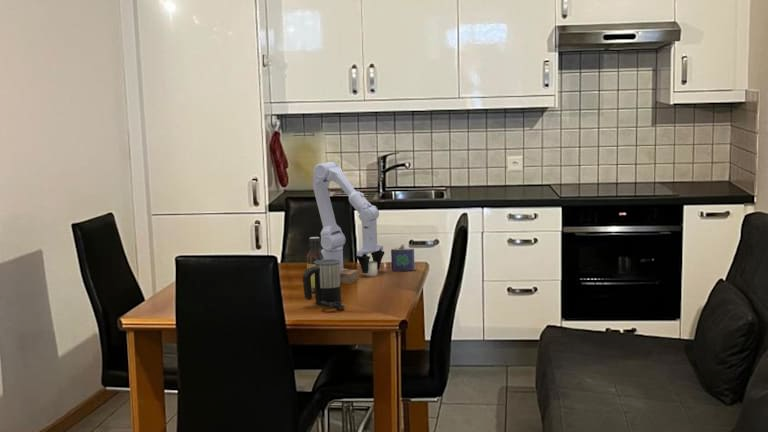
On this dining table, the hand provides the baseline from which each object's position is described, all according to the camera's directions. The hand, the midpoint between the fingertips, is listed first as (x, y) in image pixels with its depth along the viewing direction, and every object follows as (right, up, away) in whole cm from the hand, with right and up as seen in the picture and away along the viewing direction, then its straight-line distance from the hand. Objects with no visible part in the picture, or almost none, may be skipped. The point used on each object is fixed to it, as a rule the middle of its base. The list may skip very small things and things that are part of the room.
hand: (371, 271), depth 360 cm
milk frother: (-13, -9, -48) cm, 50 cm away
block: (-10, -4, -10) cm, 14 cm away
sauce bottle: (-20, -6, -25) cm, 32 cm away
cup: (0, -1, 0) cm, 1 cm away
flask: (+13, 0, +6) cm, 14 cm away
